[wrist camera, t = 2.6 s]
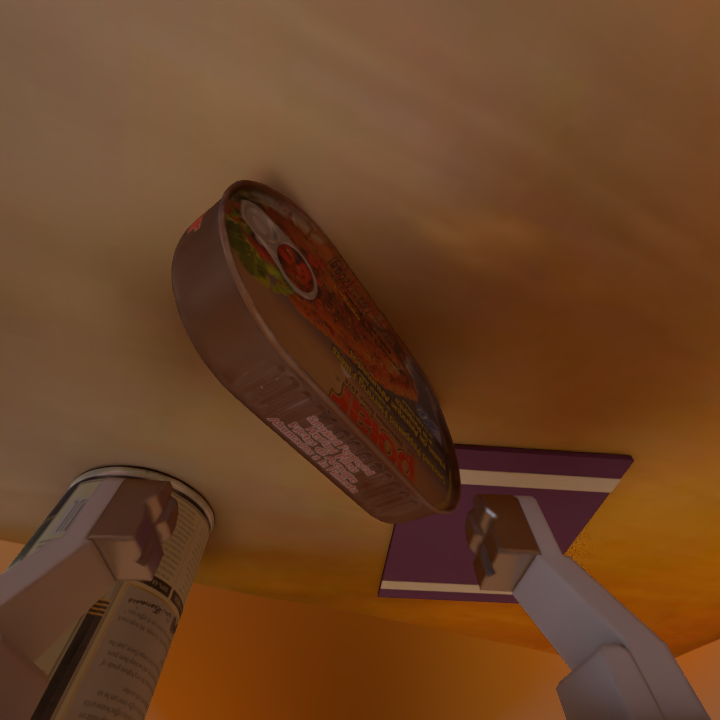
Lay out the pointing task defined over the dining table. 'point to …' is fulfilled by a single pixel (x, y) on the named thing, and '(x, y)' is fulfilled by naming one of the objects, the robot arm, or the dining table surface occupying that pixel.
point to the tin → (313, 354)
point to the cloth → (507, 477)
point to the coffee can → (120, 614)
